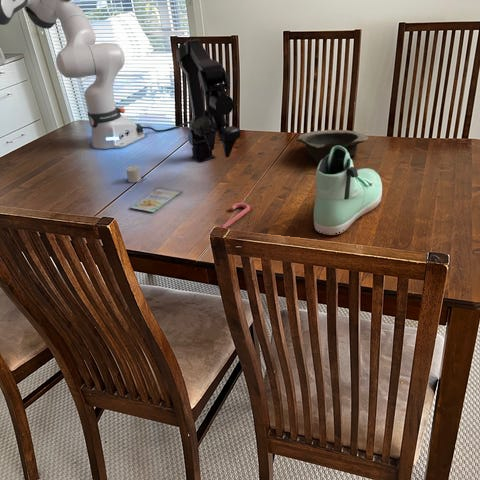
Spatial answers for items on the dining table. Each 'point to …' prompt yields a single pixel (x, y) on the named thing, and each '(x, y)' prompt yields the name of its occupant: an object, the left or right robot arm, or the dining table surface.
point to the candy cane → (239, 215)
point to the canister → (133, 174)
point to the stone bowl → (331, 142)
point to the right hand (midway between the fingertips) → (219, 153)
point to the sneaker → (343, 192)
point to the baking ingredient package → (155, 200)
